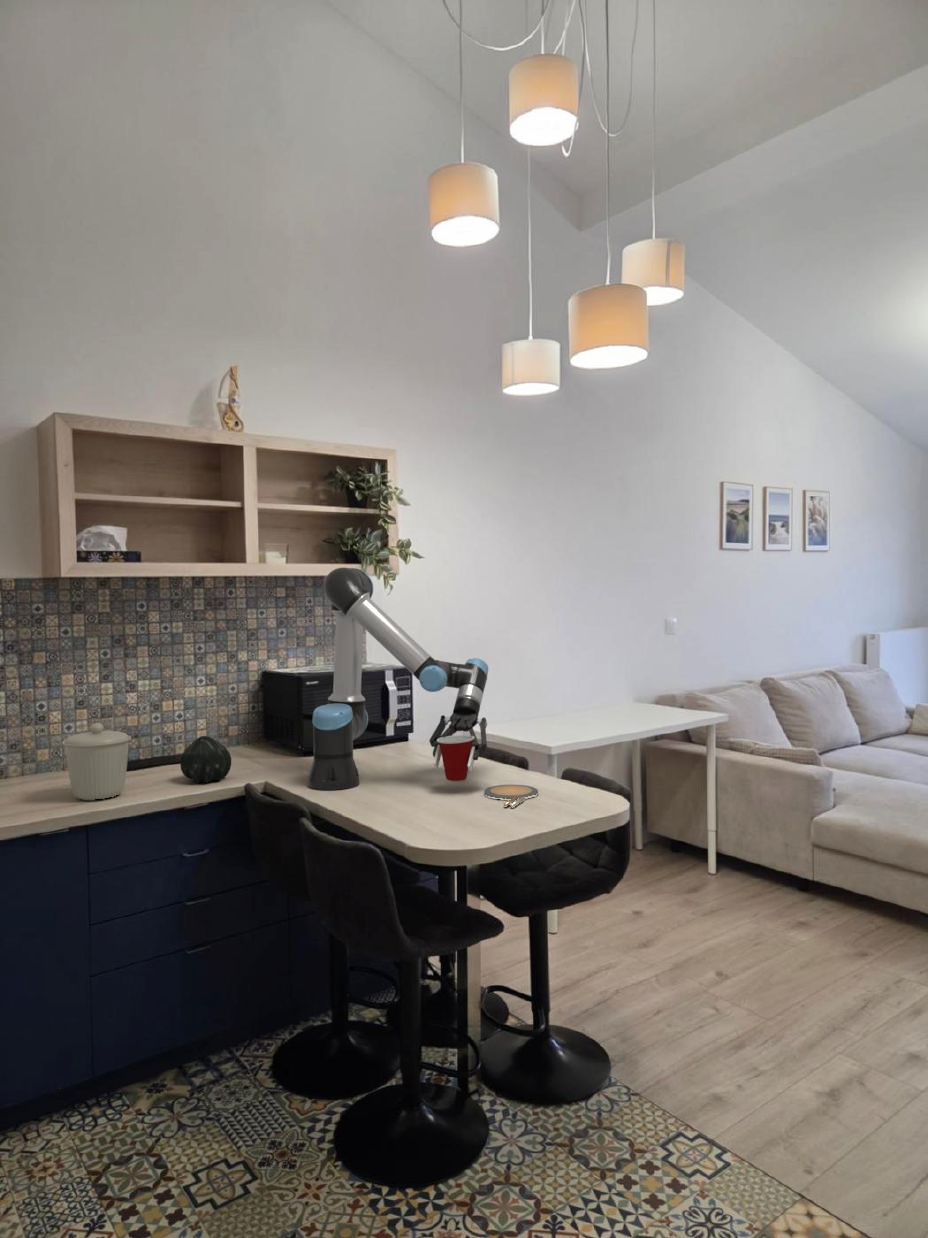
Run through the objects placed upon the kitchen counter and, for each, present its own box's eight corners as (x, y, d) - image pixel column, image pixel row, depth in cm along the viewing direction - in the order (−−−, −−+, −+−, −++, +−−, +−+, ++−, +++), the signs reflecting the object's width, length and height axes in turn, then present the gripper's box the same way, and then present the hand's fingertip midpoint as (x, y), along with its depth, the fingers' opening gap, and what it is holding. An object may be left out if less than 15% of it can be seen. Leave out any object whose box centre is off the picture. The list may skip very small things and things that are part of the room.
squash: (219, 755, 273) (192, 724, 265) (247, 762, 264) (220, 731, 255) (190, 790, 266) (161, 760, 257) (218, 799, 256) (188, 768, 248)
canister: (143, 796, 242) (141, 722, 242) (78, 808, 229) (76, 730, 229) (117, 786, 255) (114, 716, 254) (54, 797, 242) (51, 724, 241)
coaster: (514, 803, 227) (514, 799, 227) (473, 795, 237) (473, 791, 237) (548, 793, 238) (548, 789, 238) (508, 785, 248) (508, 781, 248)
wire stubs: (513, 809, 221) (513, 804, 221) (502, 808, 222) (502, 803, 222) (525, 801, 230) (525, 796, 230) (515, 800, 231) (515, 795, 231)
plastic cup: (437, 774, 247) (437, 733, 246) (474, 775, 246) (474, 733, 246) (435, 783, 236) (435, 740, 236) (474, 783, 236) (474, 740, 235)
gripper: (506, 713, 252) (492, 777, 238) (435, 709, 258) (418, 772, 244) (502, 697, 247) (488, 762, 232) (430, 694, 253) (412, 757, 238)
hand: (452, 767), depth 238 cm, fingers closed on plastic cup, 9 cm apart
